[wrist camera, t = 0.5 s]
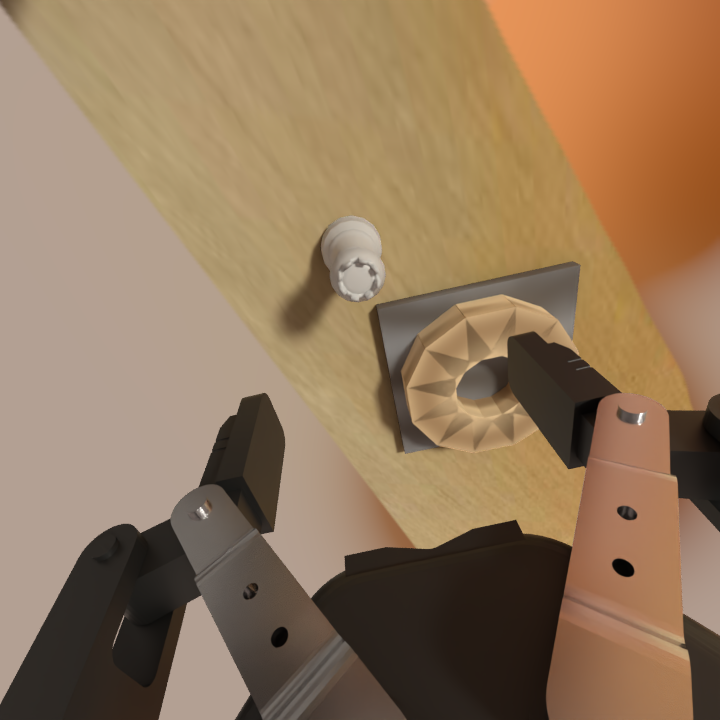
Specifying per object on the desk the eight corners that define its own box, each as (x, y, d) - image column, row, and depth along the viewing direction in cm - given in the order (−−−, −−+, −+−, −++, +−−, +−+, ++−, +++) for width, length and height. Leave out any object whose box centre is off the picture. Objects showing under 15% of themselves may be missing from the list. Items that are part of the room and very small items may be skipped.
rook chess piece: (366, 283, 29) (378, 327, 23) (312, 262, 28) (307, 302, 21) (390, 229, 27) (412, 259, 21) (333, 203, 26) (336, 226, 19)
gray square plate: (375, 304, 30) (381, 323, 27) (573, 261, 30) (601, 275, 27) (403, 446, 39) (410, 473, 35) (558, 414, 38) (579, 439, 35)
